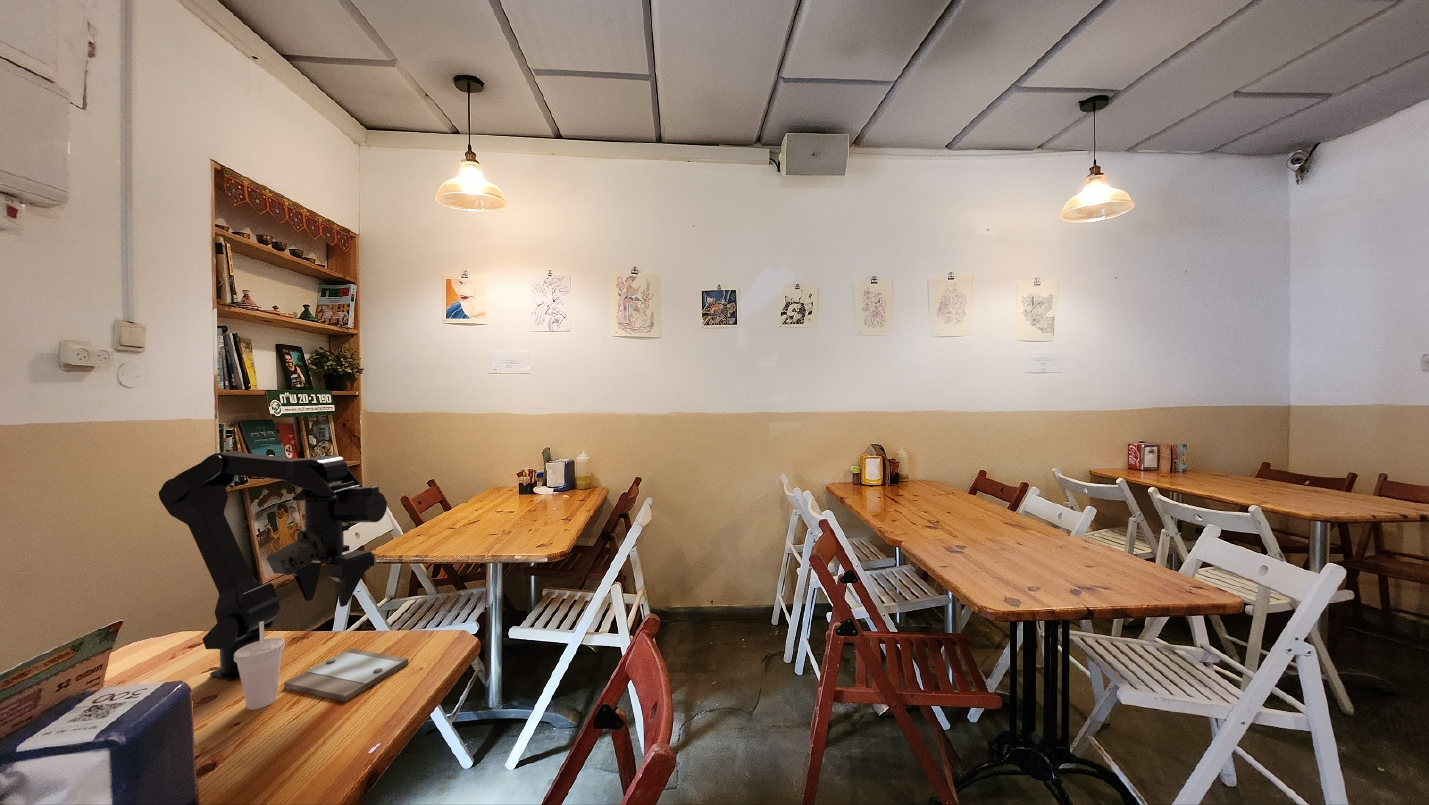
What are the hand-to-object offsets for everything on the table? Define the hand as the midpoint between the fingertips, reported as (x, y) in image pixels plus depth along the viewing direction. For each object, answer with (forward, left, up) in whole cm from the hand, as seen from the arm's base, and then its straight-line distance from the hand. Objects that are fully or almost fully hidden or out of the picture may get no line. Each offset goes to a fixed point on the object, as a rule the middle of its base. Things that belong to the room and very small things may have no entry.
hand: (326, 603), depth 93 cm
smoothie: (0, -11, -13) cm, 17 cm away
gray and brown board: (+6, -1, -13) cm, 14 cm away
